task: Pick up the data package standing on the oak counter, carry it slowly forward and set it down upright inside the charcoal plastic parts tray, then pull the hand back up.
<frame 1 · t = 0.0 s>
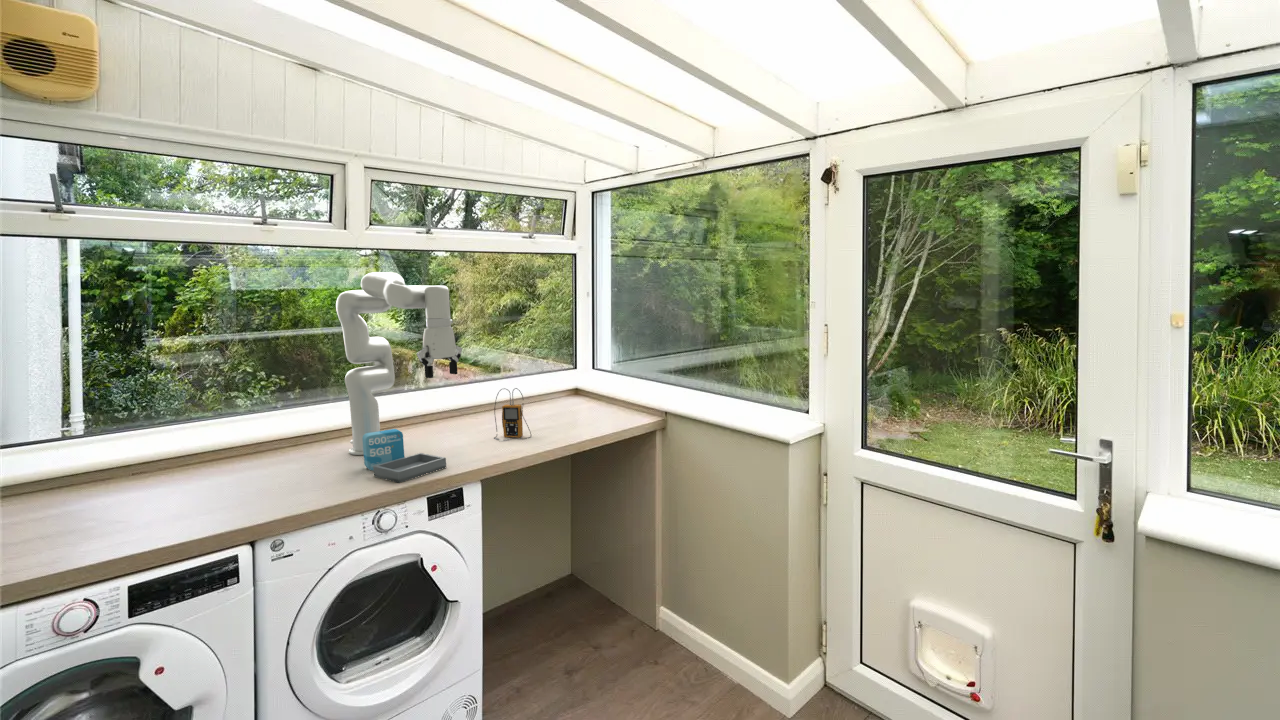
hand: (441, 375, 195), 31 cm above the worktop, tool pointing down, fingers open, 9 cm apart
data package: (385, 466, 202), on the worktop
parts tray: (410, 472, 195), on the worktop
multimeter: (510, 439, 236), on the worktop
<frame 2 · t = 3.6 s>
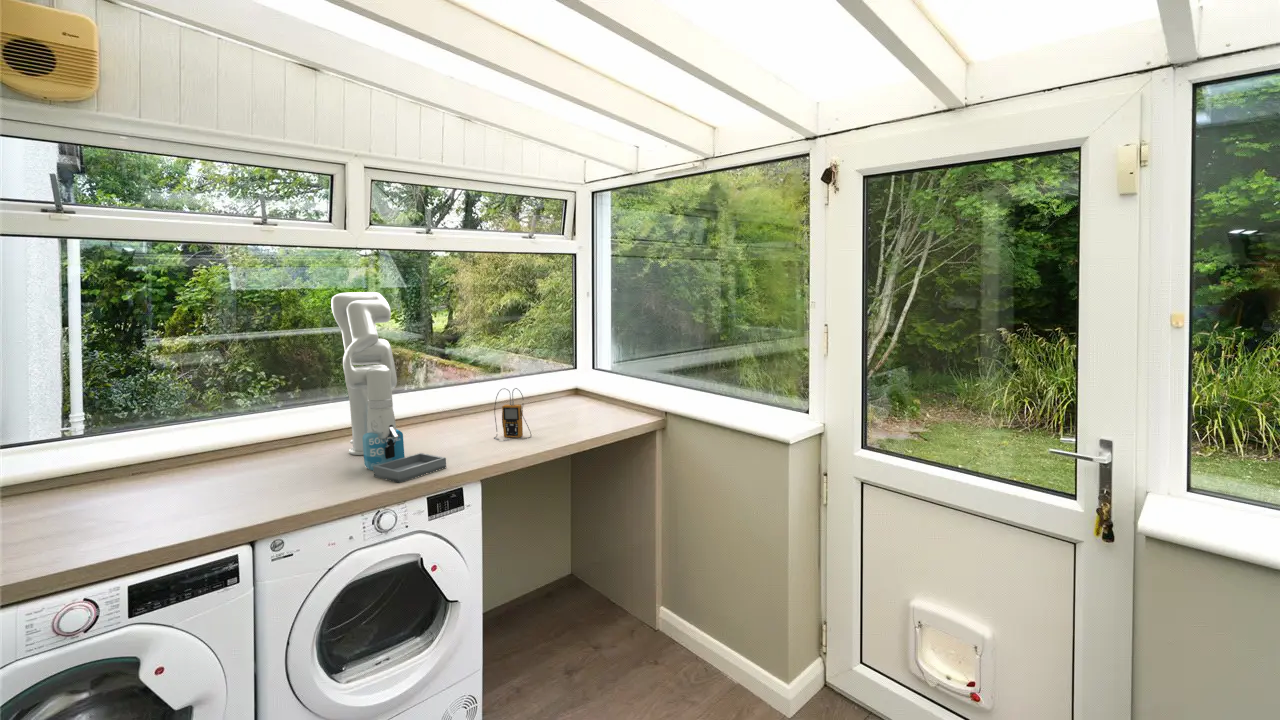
hand: (384, 456, 202), 4 cm above the worktop, tool pointing down, fingers closed on data package, 5 cm apart
data package: (385, 466, 202), on the worktop, touching gripper
everything else where it was.
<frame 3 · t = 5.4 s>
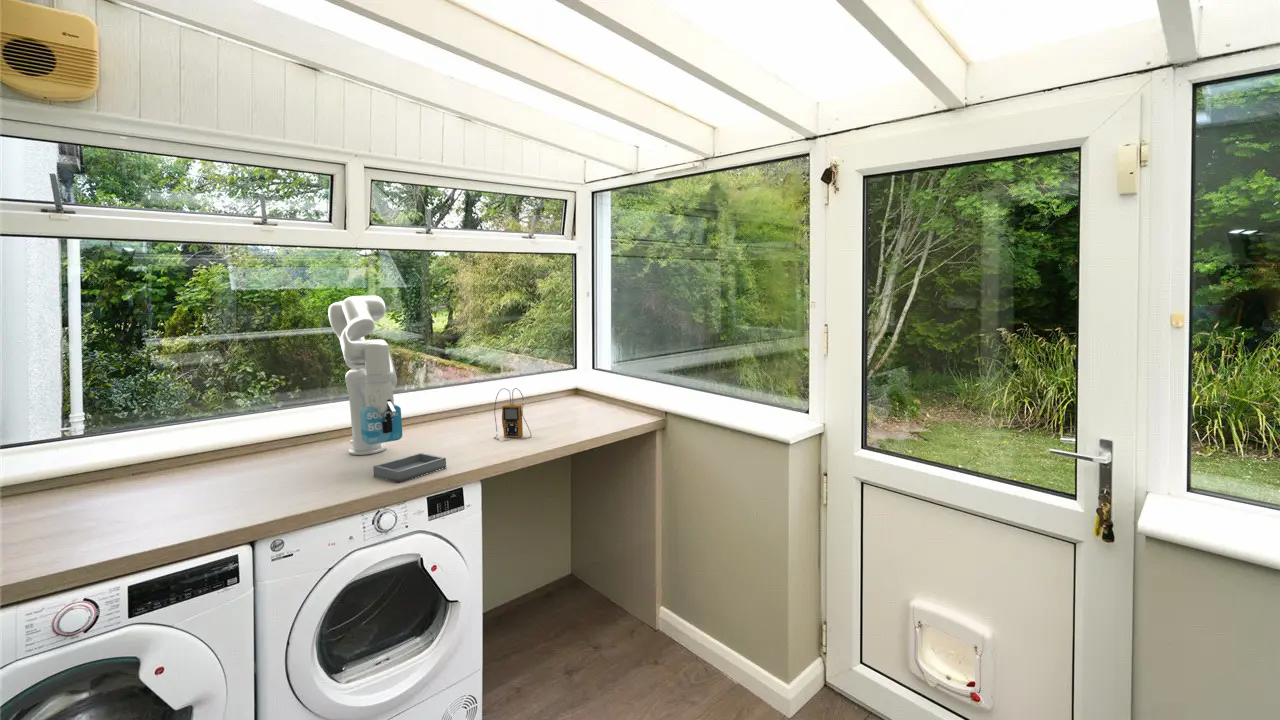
hand: (382, 430, 201), 12 cm above the worktop, tool pointing down, fingers closed on data package, 5 cm apart
data package: (382, 441, 202), point 8 cm above the worktop, touching gripper
everything else where it was.
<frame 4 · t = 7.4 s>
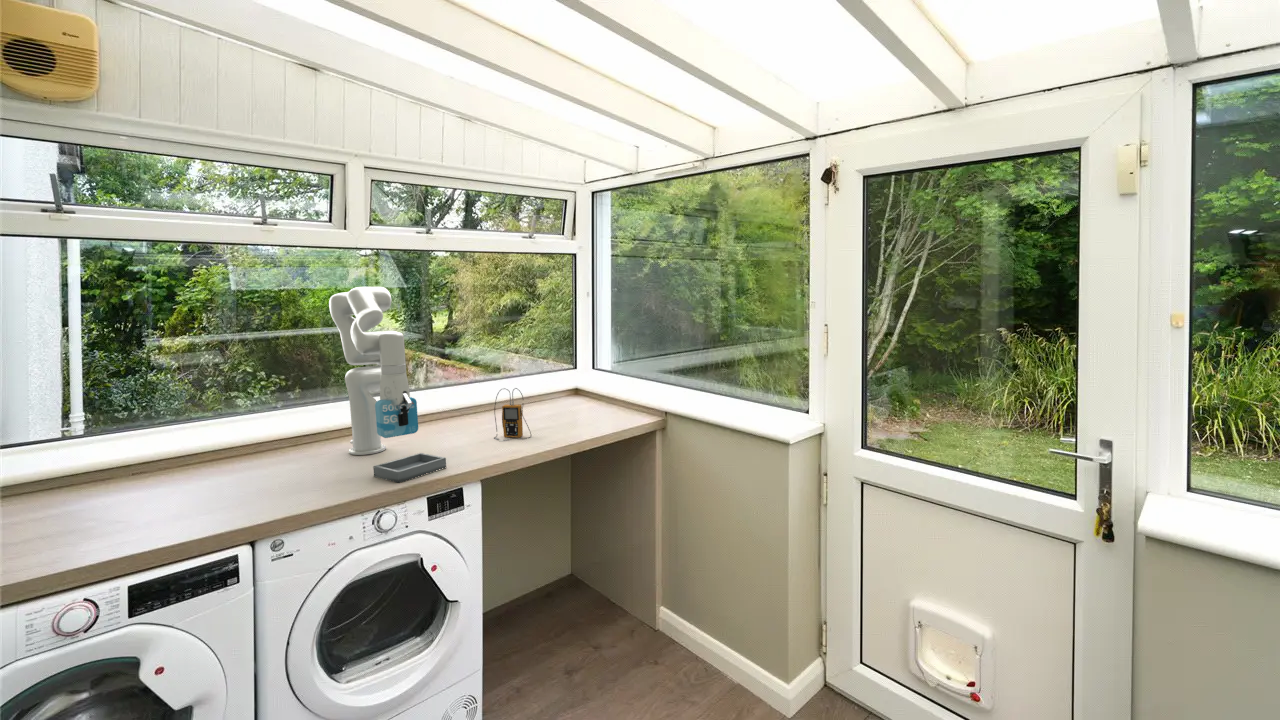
hand: (397, 423, 196), 16 cm above the worktop, tool pointing down, fingers closed on data package, 5 cm apart
data package: (398, 435, 196), point 12 cm above the worktop, touching gripper
everything else where it was.
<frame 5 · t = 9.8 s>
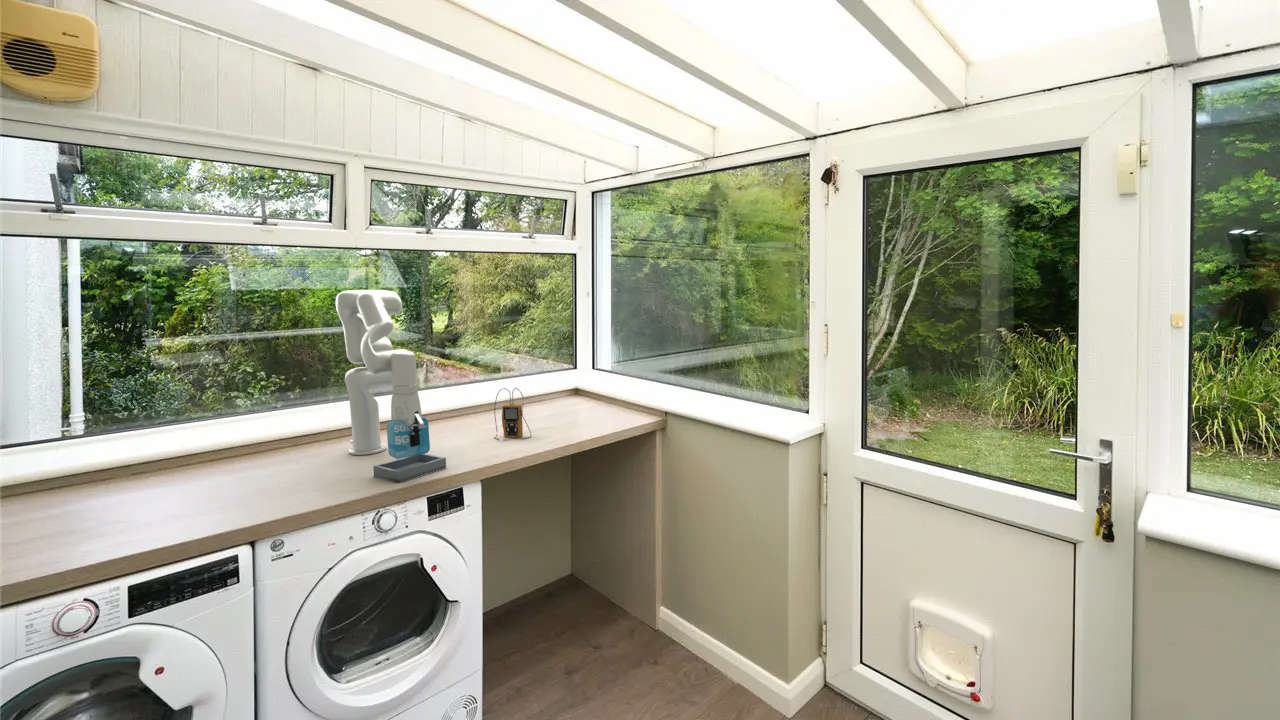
hand: (409, 444, 194), 9 cm above the worktop, tool pointing down, fingers closed on data package, 5 cm apart
data package: (409, 455, 194), point 6 cm above the worktop, touching gripper
everything else where it was.
when the fingers open (5 cm above the worktop, at t = 11.6 s): data package stays where it is, resting on parts tray.
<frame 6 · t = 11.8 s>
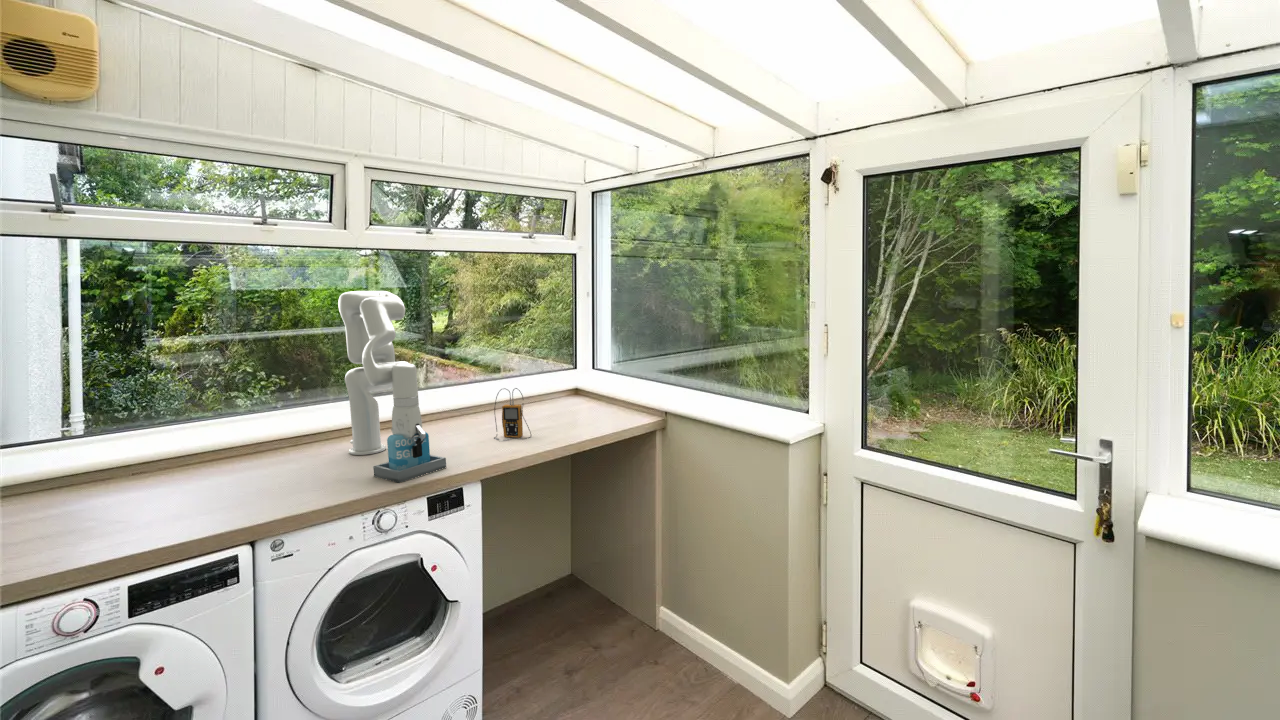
hand: (409, 454, 194), 6 cm above the worktop, tool pointing down, fingers open, 7 cm apart
data package: (410, 469, 195), point 1 cm above the worktop, touching parts tray
everything else where it was.
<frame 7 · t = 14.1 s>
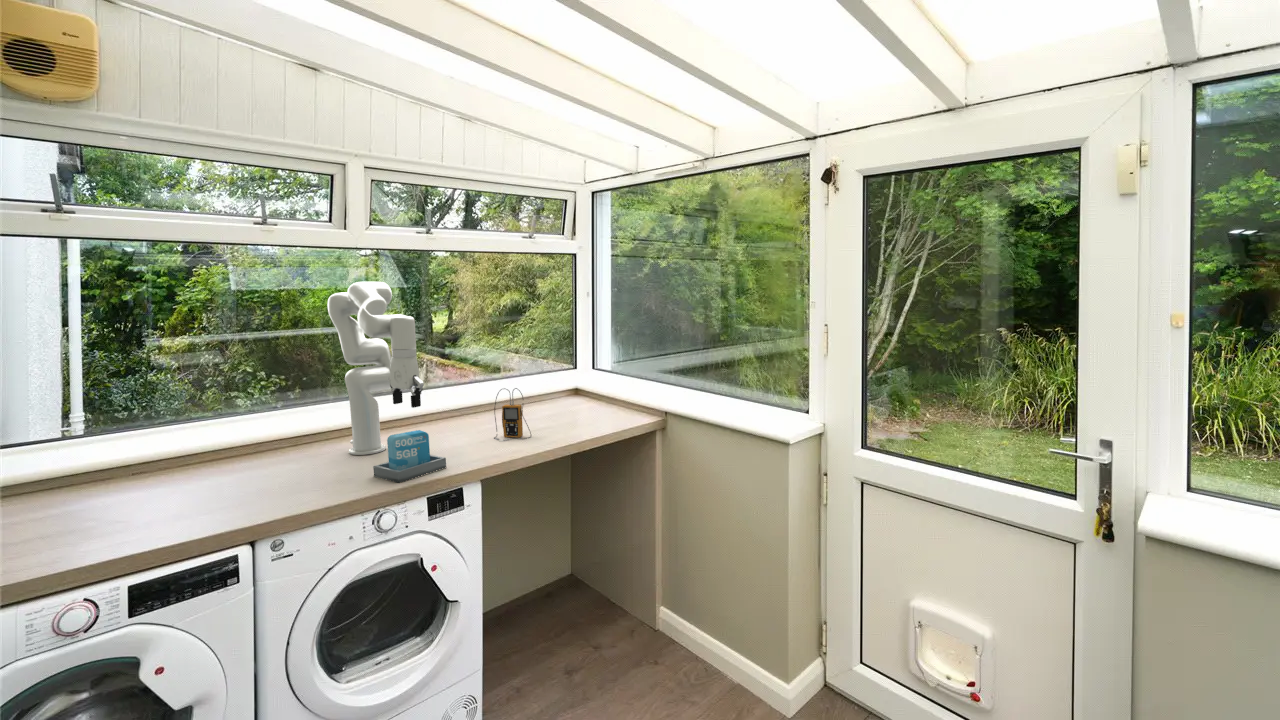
hand: (406, 405, 196), 22 cm above the worktop, tool pointing down, fingers open, 9 cm apart
nothing on the worktop moved.
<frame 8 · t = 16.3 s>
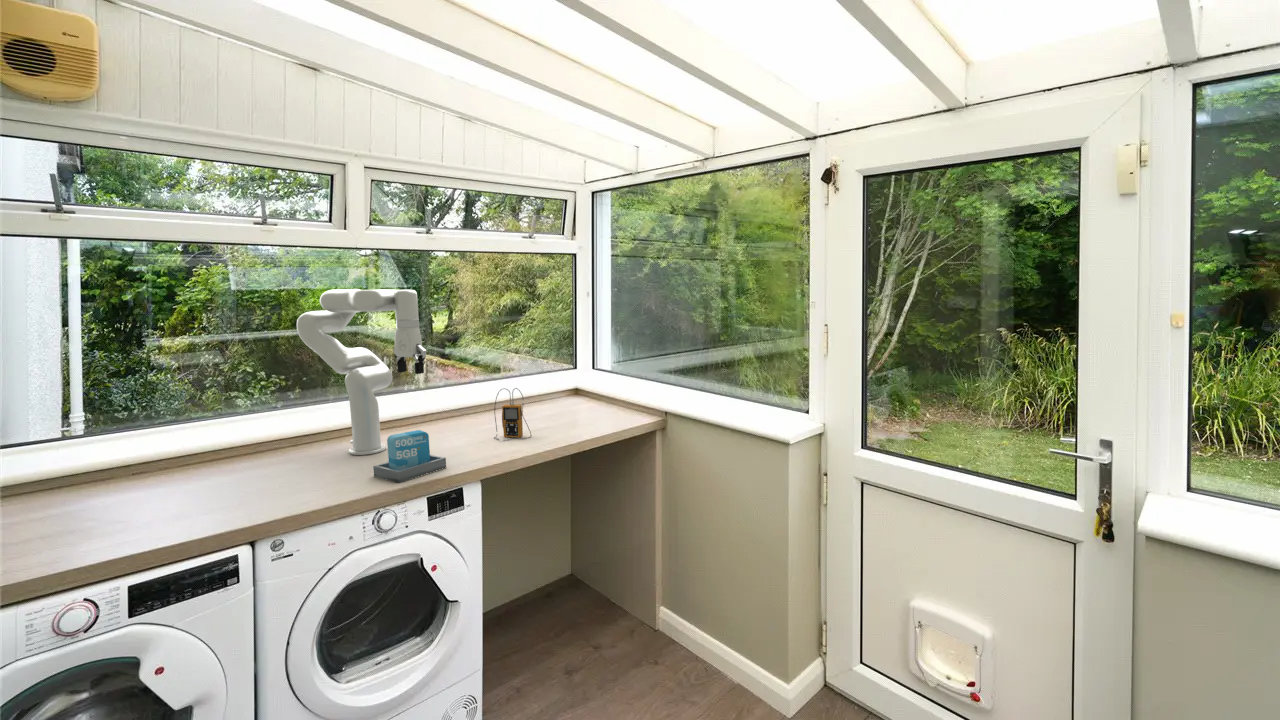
hand: (410, 372, 211), 30 cm above the worktop, tool pointing down, fingers open, 9 cm apart
nothing on the worktop moved.
at the end: data package inside the target area on the parts tray (0.3 cm from its centre), point 0.8 cm above the parts tray's base; data package tilted 0°; the gripper is holding nothing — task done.
